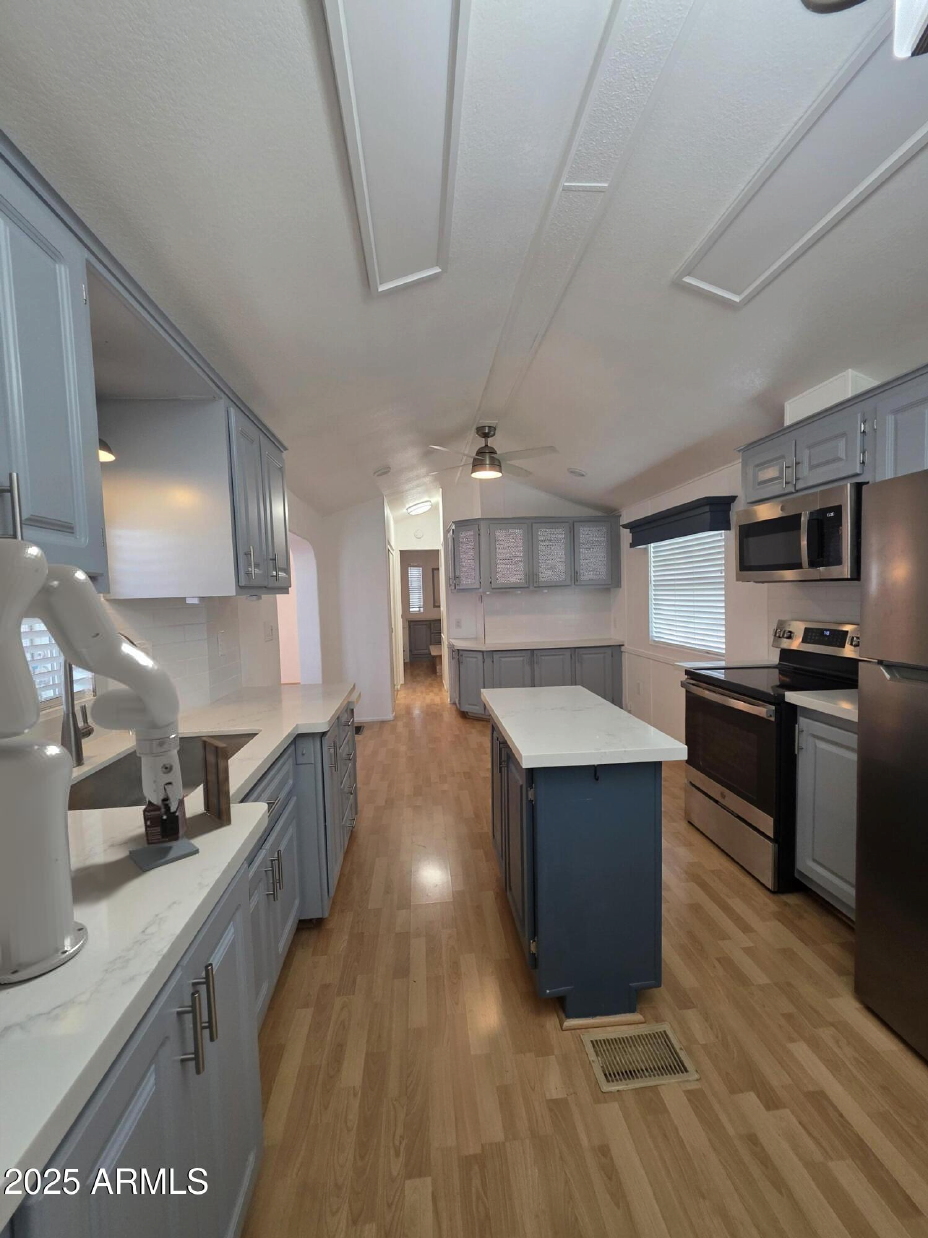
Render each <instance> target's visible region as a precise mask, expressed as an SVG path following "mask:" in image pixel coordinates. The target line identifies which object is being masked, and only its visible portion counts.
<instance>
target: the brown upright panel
mask: <svg viewBox="0 0 928 1238" xmlns="http://www.w3.org/2000/svg"><path fill="white" fill-rule="evenodd" d="M228 746H229V745H227V744H225V743H223V742H221V741H219V740H216V739H214V738H211V737H209V736H203V737H200V755H201V757H200V760H201V775H202V792H203V793H202V795H203V797H202V799H203V812H204V811H206V813H208V814H209V815H210V816H209V815H208V814H207V815H208V816H209V817H211V818H212V819H213V818H214V821H216V822H218V823H219V824H220V825H222V826H223V827H226V826H229V825H232V812H231V809H232V808H231V807H232V806H231V790H230V789H231V788H230V786H231V785H230V769H229V768H230V767H229V765H230V764H229V749H228V748H229V747H228ZM206 813H205V814H206Z"/></svg>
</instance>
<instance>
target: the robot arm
mask: <svg viewBox="0 0 928 1238" xmlns="http://www.w3.org/2000/svg"><path fill="white" fill-rule="evenodd" d="M24 619H38V620H40V621H41V623H42V624H43V626H44V627H45V629H46V630H47V631H48V634H50V637H51V638H52V639H53V641H54V642H55V644H56V646H57V647H58V649H59V651H60V652H61V654H62V656H63V657H64V658H65V659H64V660H66V661H67V662H68V663H69V664H70V665H73V666H74V667H76V668H78V669H81V670H84V671H87V672H89V673H92V674H94V675H97V676H102V677H104V678H108V679H111V680H114V681H116V682H119V683H120V684H122V685H124V686H125V687H124V688H113V689H109V690H106V691H104V692H102V693H101V694H99V695H98V696H97V697H96V698H95V699H94V701H93V702H92V703H91V706H90V711H89V714H90V718H91V720H92V722H93V723H94V724H95V725H96V726H98V727H99V728H102V729H104V730H110V731H130V730H131V731H132V730H134V733H135V735H134V736H135V752H136V756H137V757H141V760H140V761H141V782H142V784H141V785H142V792H143V795H144V797H146V798H145V805H146V806H147V804H148V803H149V802H150V801H151V802H153V803H154V804H155V805H158V806H159V808H160V812H161V816H162V818H160V830H161V838H162V839H165V838H168V837H171V836H174V835H177V834H179V832H180V831H179V812H178V800H181V799H182V798H183V795H184V792H183V782H182V781H183V780H182V773H181V765H180V759H179V754H178V751H179V749H180V733H179V732H180V731H179V730H180V729H179V717H178V716H179V712H180V702H179V697H178V694H177V688H176V685H175V684H174V683H173V682H172V681H171V680H172V679H170V676H169V674H168V673H167V671H166V670H165V668H164V667H163V666H162V665H161V664H160V663H159V662H158V661H156V660H155V659H154V658H152V657H151V656H150V655H148V654H147V653H146V652H144V651H143V650H141V649H140V648H138V647H137V646H136V645H134V644H132V643H130V642H129V641H127V640H126V639H124V638H123V637H122V636H121V634H120V633H119V631H118V629H117V628H116V625H115V624H114V622H113V620H112V618H111V616H110V614H109V612H108V610H107V609H106V607H105V605H104V603H103V600H102V599H101V597H100V595H99V594H98V592H97V590H96V587H95V586H94V584H93V582H92V581H91V578H89V576H88V575H87V573H86V572H84V570H82V569H81V568H78V567H77V566H74V565H71V564H63V563H62V564H61V563H48V560H47V557H46V555H45V553H44V552H43V550H42V549H41V547H39V546H38V545H36V544H34V543H32V542H29V541H26V540H22V539H17V538H0V983H1V984H0V985H2V984H4V983H6V984H10V983H17V982H21V981H25V980H29V979H30V978H31V979H32V978H35V977H37V976H40V975H42V974H45V973H47V972H49V971H52V970H53V969H55V968H57V967H59V966H61V965H62V964H64V963H66V962H67V961H69V960H70V959H72V958H73V957H75V956H76V954H78V953H79V952H80V951H81V950H82V949H83V948H84V946H85V945H86V943H87V941H88V938H89V937H88V936H89V935H88V927H87V925H85V924H83V923H82V922H79V921H75V915H74V914H75V912H74V896H73V884H72V883H73V882H72V881H73V880H72V868H71V864H72V863H71V852H70V850H71V849H70V838H69V837H70V836H69V818H68V817H69V814H68V813H69V811H68V810H69V797H70V790H71V786H72V778H73V773H74V762H73V761H74V760H73V758H72V755H71V753H70V752H69V750H67V748H65V746H63V745H61V744H60V743H58V742H55V741H53V740H49V739H48V740H47V739H41V738H15V737H19V736H22V735H24V734H26V733H28V732H29V731H31V730H32V729H34V727H35V726H36V725H37V724H38V722H39V720H40V717H41V711H42V710H41V709H42V708H41V702H40V697H39V693H38V689H37V686H36V683H35V681H34V677H33V674H32V671H31V666H30V664H29V661H28V657H27V654H26V651H25V648H24V644H23V643H24V642H23V640H22V639H23V638H22V630H21V629H22V625H23V620H24ZM165 799H168V801H164V802H162V800H165ZM166 805H169V806H168V807H167V808H166V811H165V808H164V806H166Z"/></svg>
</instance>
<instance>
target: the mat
mask: <svg viewBox="0 0 928 1238" xmlns="http://www.w3.org/2000/svg"><path fill="white" fill-rule="evenodd" d="M199 853H200V848H198V846H196V845H195V844H194V842H192V841H191V840H190V839H188V838H187V837H186V836H185V835H183V834H182V836H181V838H180V840H178V841H172V842H166V843H160V844H152V845H147V844H146V845H142V846H139V847H137V848H133V849H130V850H128V856H129V857H130V858H131V859H132V860H133V862H134V863H135V864H136V865H137V866H138V868H140V870H142V872H147V871H151V870H153V869H155V868H159V867H162V866H164V865H167V864H171V863H173V862H177V861H179V860H181V859H185V858H188V857H191V856H194V855H196V854H199Z"/></svg>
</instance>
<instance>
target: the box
mask: <svg viewBox="0 0 928 1238" xmlns="http://www.w3.org/2000/svg"><path fill="white" fill-rule="evenodd" d="M164 801H168V799H165V800H162V802H164ZM168 806H169V805H166V806H164V808H165V811H166V808H167V807H168ZM178 812H179V831H180V832H179V834H177V835H174V836H171V837H168V838H165V839H162V838H161V830H160V818H162V816H161V812H160V808H159V806H158V805H155V804H154V803H153V802H151V801H150V802H149V803H148V804H147V805H146V806H145V807H144V808H143V809H142V817H143V824H144V833H145V839H146V841H145V842H146V845H152V844H160V843H166V842H172V841H178V840H180V838H181V836H182V835H183V834H184V832H185V831H186V830H187V827H188V823H187V814H186V813H187V812H186V805H185V796H184V794H183V798H182V799H181V800H178Z"/></svg>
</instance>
